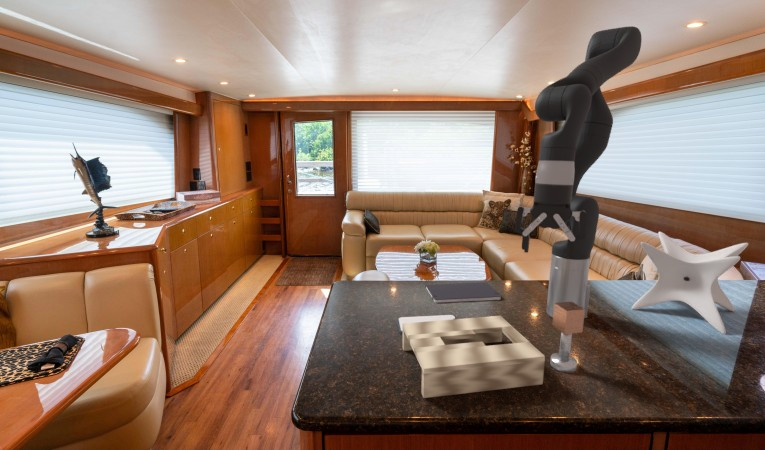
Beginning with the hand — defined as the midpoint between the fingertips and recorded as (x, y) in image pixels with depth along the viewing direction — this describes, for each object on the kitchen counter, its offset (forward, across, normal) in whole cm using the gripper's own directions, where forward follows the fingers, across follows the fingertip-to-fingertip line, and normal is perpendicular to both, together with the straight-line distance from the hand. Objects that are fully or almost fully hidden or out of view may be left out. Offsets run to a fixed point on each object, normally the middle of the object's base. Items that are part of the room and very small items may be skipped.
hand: (546, 254), depth 82 cm
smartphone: (+23, +26, +3) cm, 35 cm away
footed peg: (+22, -6, +7) cm, 24 cm away
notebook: (+22, +24, -23) cm, 40 cm away
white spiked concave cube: (+20, -35, -39) cm, 56 cm away
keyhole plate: (+23, +13, +16) cm, 30 cm away
